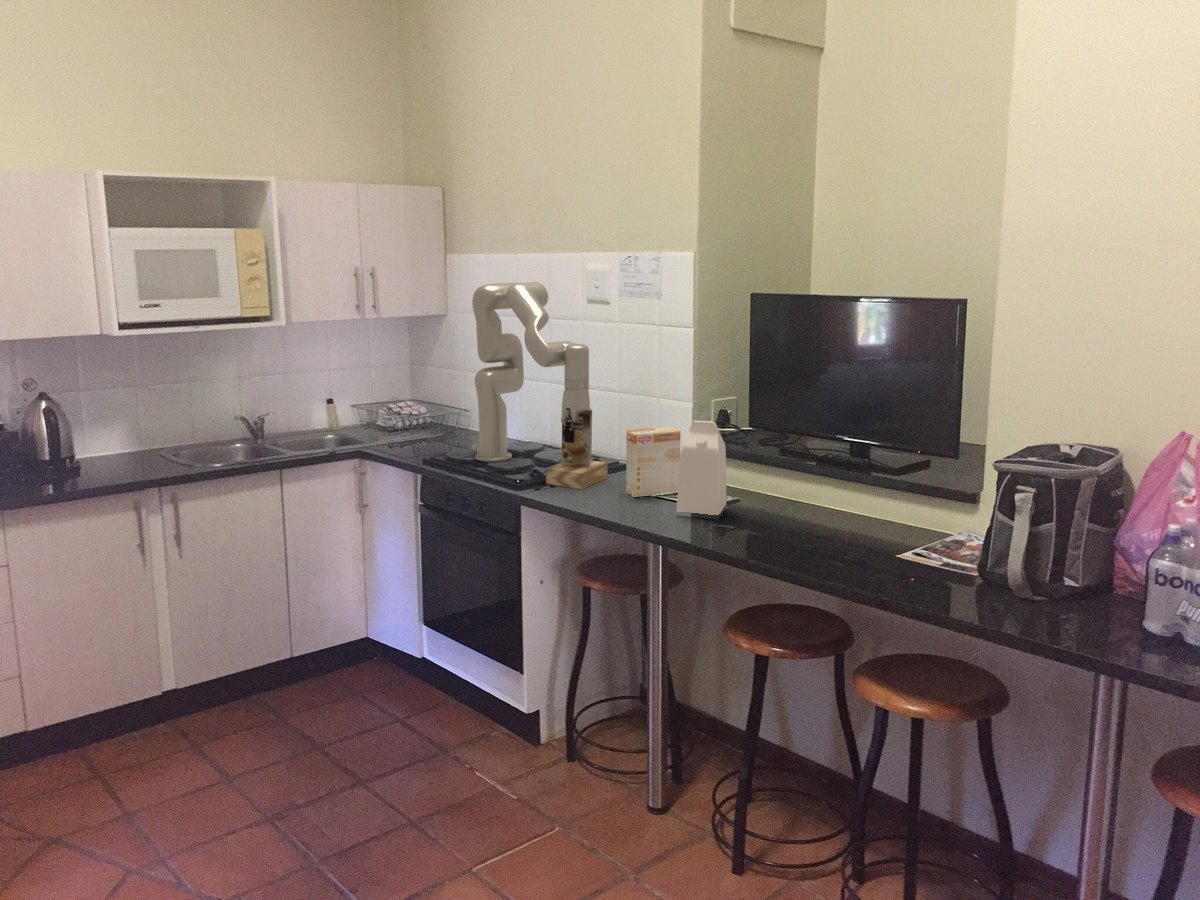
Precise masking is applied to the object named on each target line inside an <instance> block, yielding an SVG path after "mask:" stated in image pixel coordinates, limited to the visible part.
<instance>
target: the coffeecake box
mask: <svg viewBox="0 0 1200 900" xmlns="http://www.w3.org/2000/svg"><path fill="white" fill-rule="evenodd" d="M625 446H626V448H625V449H626V450H625V453H626V457H625V458H626V461H625V462H626V466H625V467H626V468H625V471H626V472H625V473H626V474H625V475H626V479H625V480H626V481H625V482H626V484H625V485H626V487H625V489H626V491H625V492H627V493H629V494H630V495H629V494H628V495H629V496H631V495H632V496H633V497H638V496H648V495H654V494H661V493H666V492H672V491H678V481H679V468H680V454H681V430H680V429H677V428H675V426H674V427H673V426H665V427H652V428H638V429H627V430H626V445H625ZM632 496H631V497H632ZM633 497H632V498H633Z"/></svg>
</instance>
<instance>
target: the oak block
mask: <svg viewBox="0 0 1200 900" xmlns="http://www.w3.org/2000/svg"><path fill="white" fill-rule="evenodd" d="M608 473H609V472H608V462H606V461H596V460H591V462H590V464H571V463H561V462H559V463H557V464H553V465H551V466H549V467H546V468H545V484H546V485H552V486H557V487H563V488H569V489H577V490H583V489H586V488H588V487H590V486H592V485H595V484H598V483H600V482H602V481H604V480H606V479H608Z"/></svg>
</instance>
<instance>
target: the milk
mask: <svg viewBox="0 0 1200 900" xmlns="http://www.w3.org/2000/svg"><path fill="white" fill-rule="evenodd" d="M681 446H682V447H681V448H680V468H679V481H678V494H676V495H677V498H676V508H675V509H676V511H677V512H690V513H699V514H708V515H719V514H720V513H721V511H722V510H723V508H724V507H725V505H726V506H727V463H726V462H727V458H726V457H727V453H726V451H727V450H726V448H727V447H726V443H725V441H724V439H723V437H722V435H721V432H719V429H718V426H717V423H716V422H715V421H707V420H693V421H692V423H691V425H690V427H689V430H688V432H687V434H686V436H685V440H684V442H683V444H682V445H681ZM676 511H675V512H676Z"/></svg>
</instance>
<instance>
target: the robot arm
mask: <svg viewBox="0 0 1200 900" xmlns="http://www.w3.org/2000/svg"><path fill="white" fill-rule="evenodd" d="M548 301H549V293H548V290H547V288H546V287H545V286H544V285H543V283H540V282H503V283H502V282H501V283H499V282H498V283H489V284H488V283H487V284H484V285H480V286H479V287H477V288H476V290H475V291H474V293H473V295H472V304H471V305H472V311H473V314H474V318H475V323H476V324H475V325H476V327H475V328H476V329H475V330H476V343H477V345H476V346H477V347H476V348H477V355H478V358H479V360H480V362H482V363H486V364H495V363H503V364H502V365H498V366H497V365H496V366H489V367H484V368H482V369H480V370H478V371H477V373H476V374H475V377H474V385H475V391H476V397H477V403H478V404H477V406H478V407H477V408H478V435H479V436H478V438H479V439H478V440H479V442H478V443H473V444H472V446H471V451H476V454H475V455H474V457H475V459H476V460H477V461H480V462H486V463H488V462H492V463H493V462H495V463H496V462H497V463H498V462H505V461H508V460H511V459H512V457H513V456H512V455H513V454H512V453H511V452H509V451H508V428H507V427H508V426H507V425H508V423H507V422H508V419H507V418H508V417H507V405H506V403H505V401H504V399H503V398H502V396H501V395H505V394H511V393H516V392H519V390H521V389H522V388H523V385H524V382H525V381H524V378H525V376H524V375H525V370H524V352H523V351H524V349H523V344H522V342H521V340H520V338H519V337H518V336H517V335H516V334H514V333H503V329H502V327H503V325H502V320H501V318H500V315H499V314H498V312H496V310H508V309H511V310H512V311H513V313H514V314H515V315H516V317H517V318H518V319H519V321H520V322H521V323H522V325H523V327H524V329H525V330H524V344H525V347H526V350H527V352H528V353H529V354H530V356H531V357H532V359H533V360H534V362H536V363H537V365H539V366H540V367H543V368H552V367H561V366H564V390H563V393H562V401H561V418H560V421H561V427H562V426H563V429H564V441H565V442H568V443H574V430H573V427H574V424H575V422H577V421H578V418H579V414H580V413H583V412H586V411H592V412H593V410H592V409H591V403H590V401H591V400H590V392H589V391H590V379H589V378H590V349H589V346H588V345H586V344H584V343H575V342H573V341H570V340H563V341H553V342H545V341H544V339H543V338H542V336H541V335H540V333H539V332H540V331H541V330H542V329H543V328H544V327H546V325H547V324H548V322H549V319H550V318H549V313H548V312H547V310H546V309H545V308H544V307H545V306H546V305H547V304H548ZM569 415H571V418H572V420H567V418H568V417H569ZM569 423H571V425H569Z"/></svg>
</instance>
